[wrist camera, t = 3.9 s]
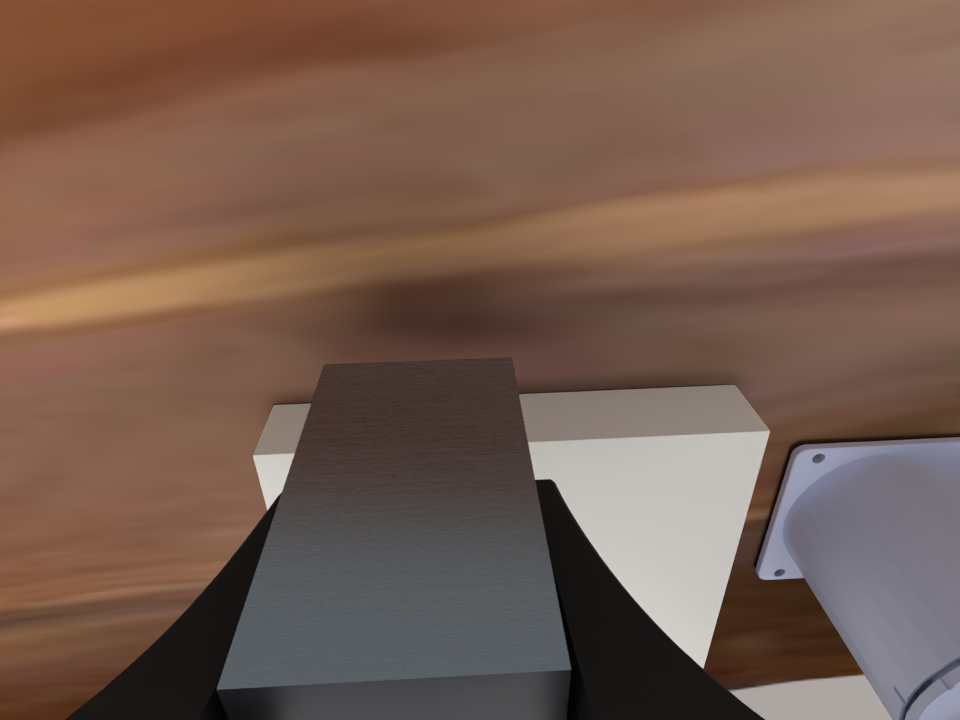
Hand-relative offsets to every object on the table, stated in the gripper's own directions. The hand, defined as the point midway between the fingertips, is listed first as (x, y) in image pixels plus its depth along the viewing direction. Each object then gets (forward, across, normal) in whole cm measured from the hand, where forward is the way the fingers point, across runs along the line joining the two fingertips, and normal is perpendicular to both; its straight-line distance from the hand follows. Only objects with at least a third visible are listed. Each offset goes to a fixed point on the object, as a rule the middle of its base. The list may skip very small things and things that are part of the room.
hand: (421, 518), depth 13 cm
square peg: (+3, 0, 0) cm, 3 cm away
